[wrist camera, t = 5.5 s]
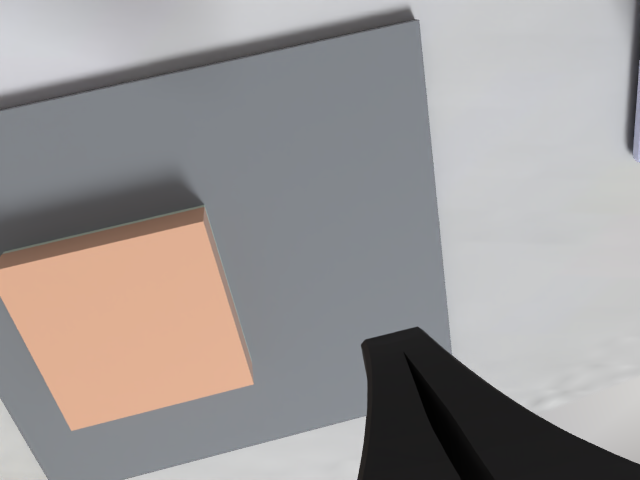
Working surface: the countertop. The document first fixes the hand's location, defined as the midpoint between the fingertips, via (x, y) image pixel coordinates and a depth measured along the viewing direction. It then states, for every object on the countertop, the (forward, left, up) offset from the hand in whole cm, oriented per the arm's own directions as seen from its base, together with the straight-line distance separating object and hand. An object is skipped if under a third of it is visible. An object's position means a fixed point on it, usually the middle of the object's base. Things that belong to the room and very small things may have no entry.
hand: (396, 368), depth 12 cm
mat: (+5, +2, -9) cm, 11 cm away
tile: (+4, +2, -8) cm, 9 cm away
